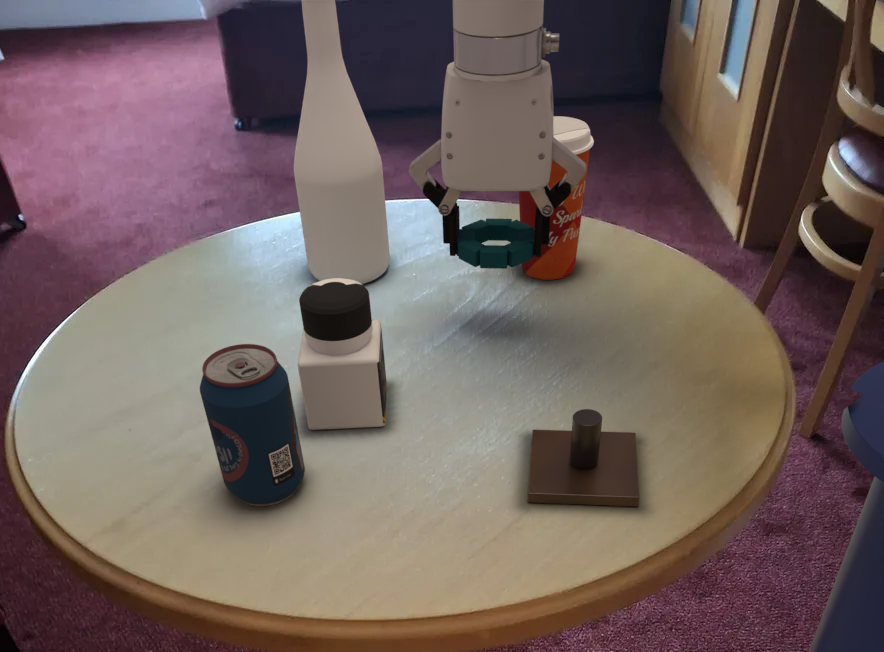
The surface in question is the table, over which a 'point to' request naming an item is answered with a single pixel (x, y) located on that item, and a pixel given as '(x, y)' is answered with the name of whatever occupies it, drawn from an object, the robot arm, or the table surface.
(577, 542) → the table surface
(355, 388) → the medicine bottle
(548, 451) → the ring post
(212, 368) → the soda can
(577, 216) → the coffee cup
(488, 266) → the ring
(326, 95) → the wine bottle
